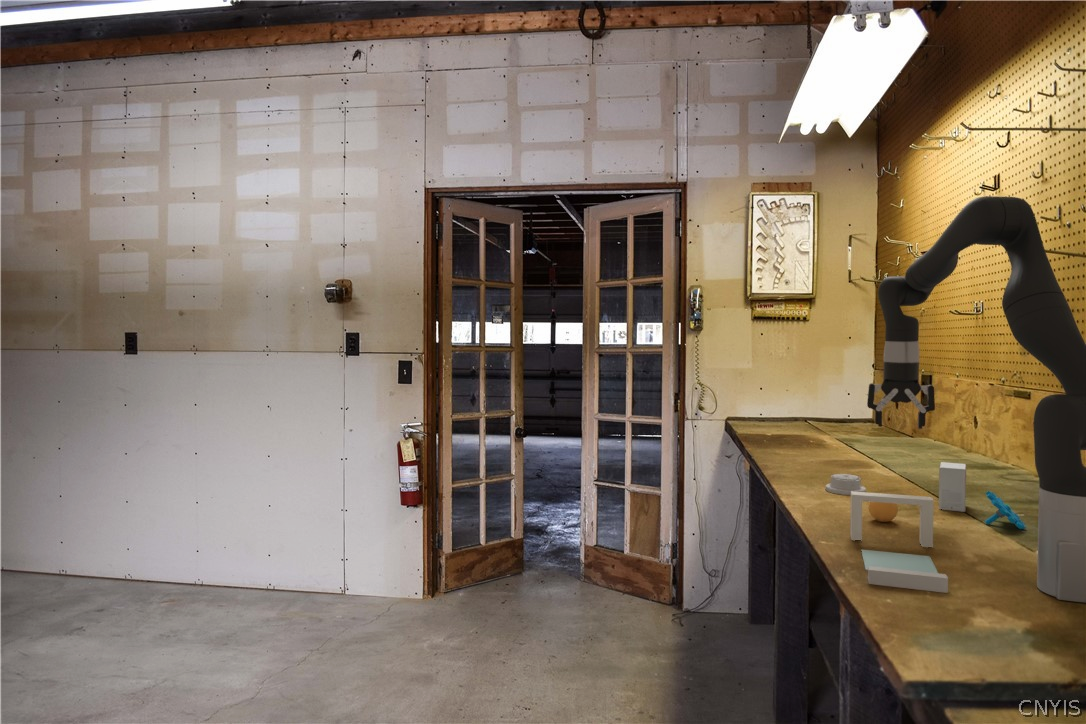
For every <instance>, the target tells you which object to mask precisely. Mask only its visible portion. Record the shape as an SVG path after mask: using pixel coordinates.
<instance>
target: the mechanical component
mask: <svg viewBox="0 0 1086 724" xmlns="http://www.w3.org/2000/svg"><path fill="white" fill-rule="evenodd" d="M861 481H862V479H861V477H860V476H859V475H853V474H847V473H835V474H831V476H830V483H827V484H825V491H826V492H829V493H831V494H835V495H843V496H851V491H854V492H866V491H867V490H866V489H867V488H866V487H865V486H863V485H861V484H862V482H861Z"/></svg>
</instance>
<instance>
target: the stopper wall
mask: <svg viewBox="0 0 1086 724" xmlns="http://www.w3.org/2000/svg"><path fill="white" fill-rule="evenodd" d="M867 583H868V585H875V586H884V587H892V588H902V589H909V590H911V589H912V590H917V591H925V592H926V591H927V592H934V593H936V592H937V593H942V594H944V593H945V594H948V593H949V577H948V576H947V574H946V573H939V572H938V573H929V572H920V571H910V570H901V569H891V568H882V567H873V566H868V571H867Z"/></svg>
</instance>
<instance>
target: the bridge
mask: <svg viewBox="0 0 1086 724" xmlns="http://www.w3.org/2000/svg"><path fill="white" fill-rule="evenodd" d="M863 502H869V503H870V502H882V503H896V504H898V505H899V504H900V505H909V506H910V505H911V506H912V505H913V506H919V542H920V543H919V545H920V544H921V545H920V546H922V547H921V548H928V547H932V548H931V549H934V502H935V501H934V499H933V497H932V496H924V495H922V496H921V495H910V494H897V493H895V494H894V493H880V492H854V491H851V495H850V540H851V541H855V540H861V541H860V542H862V541H863Z"/></svg>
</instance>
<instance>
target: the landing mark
mask: <svg viewBox="0 0 1086 724" xmlns="http://www.w3.org/2000/svg"><path fill="white" fill-rule="evenodd" d="M860 551H862V552H861V555H862V560H863V563H864V569H865V571H867V572H868V566H873V567H882V568H891V569H901V570H910V571H920V572H929V573H938V574H939V572H938V570H937V568H936V566H935V564H934V562H933V560H932V559H931V556H929V555H921V554H911V553H900V552H890V551H882V550H872V549H871V550H870V549H860Z"/></svg>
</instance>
